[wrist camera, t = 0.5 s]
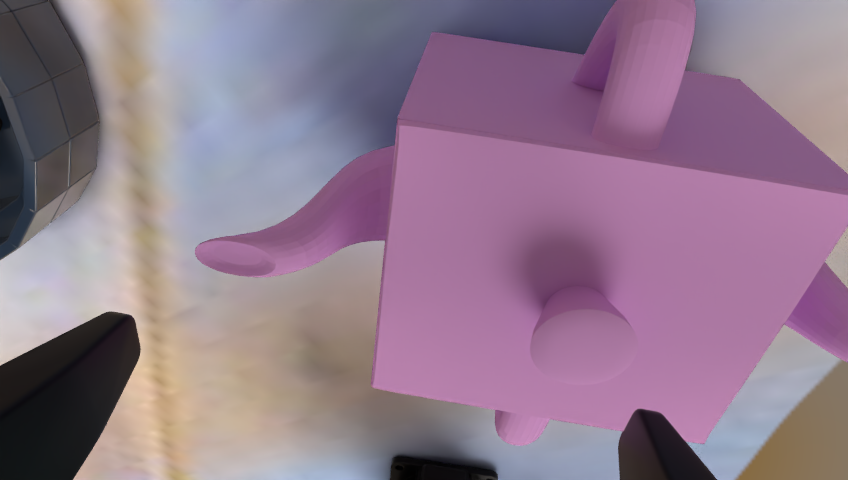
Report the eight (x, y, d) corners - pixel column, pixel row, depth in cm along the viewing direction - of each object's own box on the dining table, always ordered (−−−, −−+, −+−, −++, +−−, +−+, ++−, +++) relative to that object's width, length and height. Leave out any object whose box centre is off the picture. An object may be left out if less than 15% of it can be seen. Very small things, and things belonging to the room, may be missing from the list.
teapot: (471, 333, 28) (459, 556, 19) (297, 115, 22) (162, 282, 13) (802, 197, 22) (1017, 427, 13) (677, -144, 16) (901, -161, 7)
